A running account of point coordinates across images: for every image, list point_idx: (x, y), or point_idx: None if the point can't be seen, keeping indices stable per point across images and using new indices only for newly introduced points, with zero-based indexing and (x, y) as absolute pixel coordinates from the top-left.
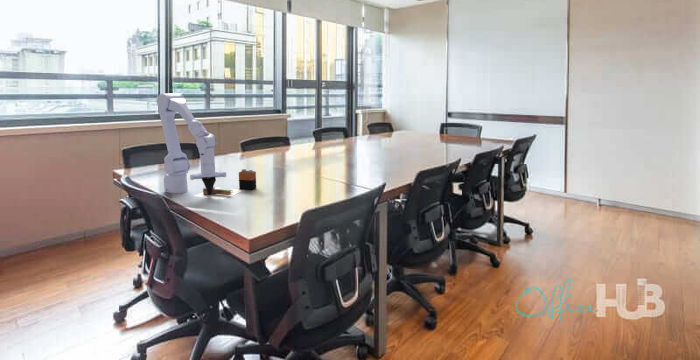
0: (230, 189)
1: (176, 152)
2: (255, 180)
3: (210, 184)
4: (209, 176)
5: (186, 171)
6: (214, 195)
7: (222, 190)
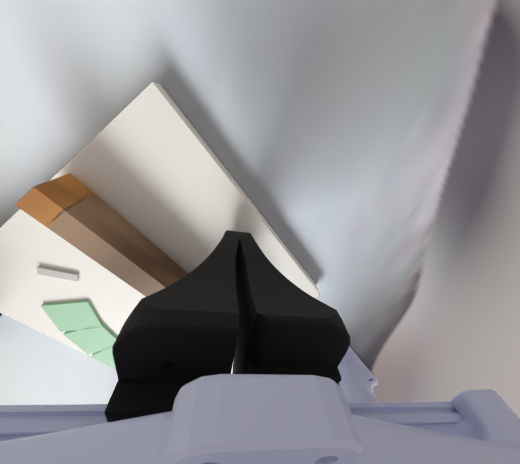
0: (62, 328)
1: None
2: None
3: (232, 281)
4: (291, 395)
5: None
6: (196, 251)
7: (113, 245)
